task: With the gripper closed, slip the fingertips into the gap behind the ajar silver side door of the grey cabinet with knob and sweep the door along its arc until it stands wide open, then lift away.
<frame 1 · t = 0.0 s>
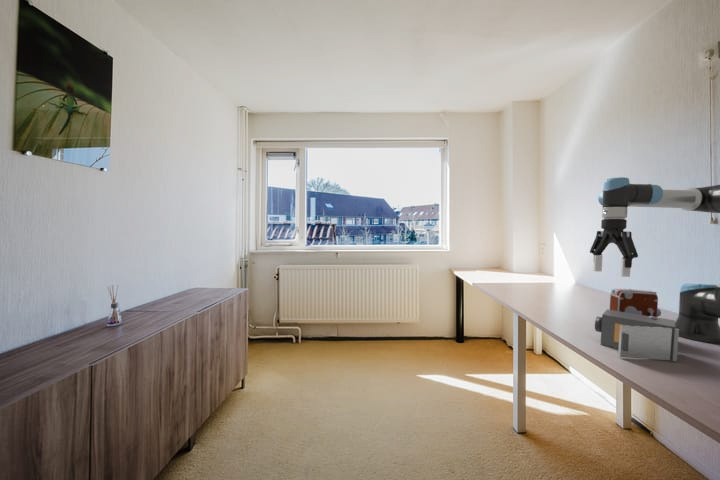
hand: (610, 273, 122), 28 cm above the table, tool pointing down, fingers open, 13 cm apart
side door: (645, 343, 109), point 6 cm above the table, hinge at 40.0°
cine camera: (637, 337, 134), on the table
grey cabinet with knob: (635, 348, 120), on the table
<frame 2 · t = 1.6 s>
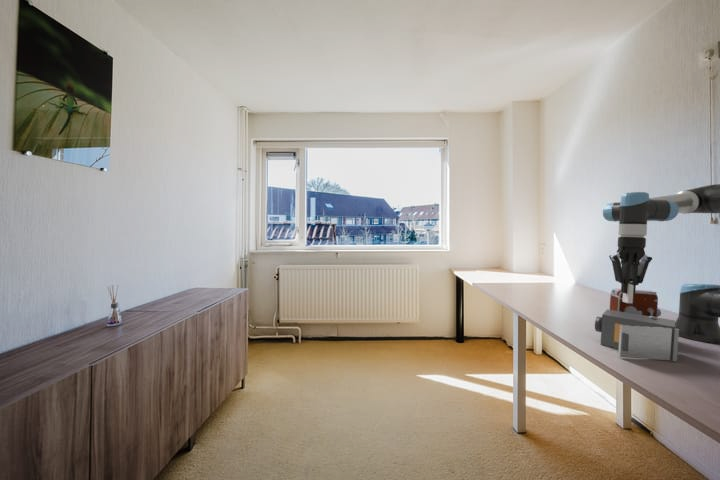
hand: (627, 302, 112), 19 cm above the table, tool pointing down, fingers closed
nothing on the table moved.
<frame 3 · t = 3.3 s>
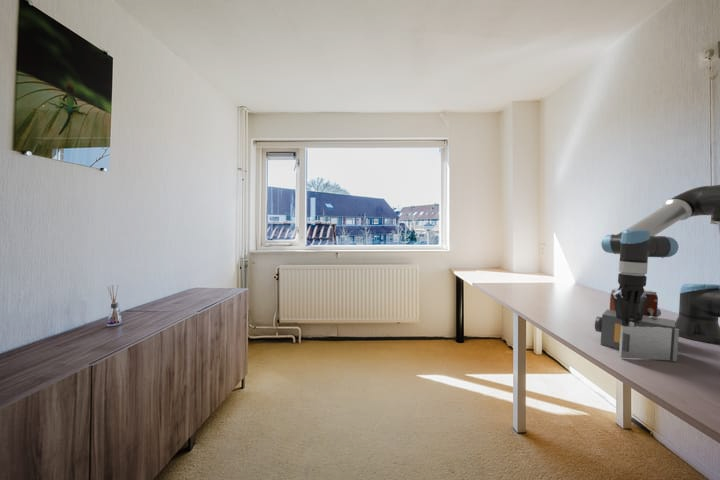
hand: (627, 339, 112), 6 cm above the table, tool pointing down, fingers closed
side door: (646, 343, 109), point 6 cm above the table, hinge at 41.6°, touching gripper
everything else where it was.
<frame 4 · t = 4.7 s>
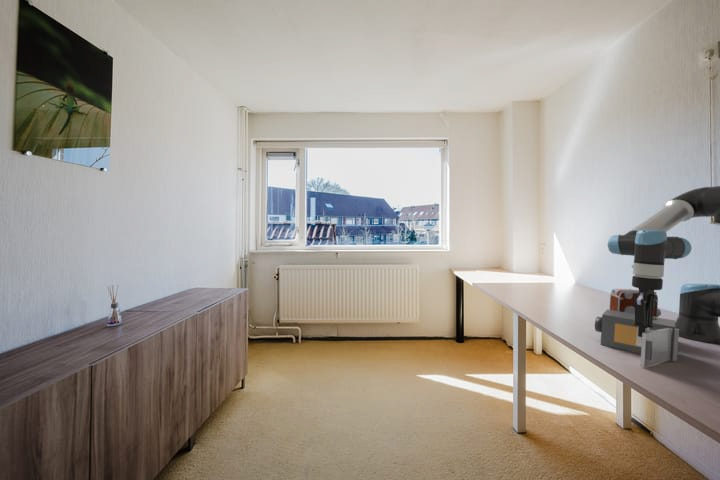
hand: (641, 346, 106), 6 cm above the table, tool pointing down, fingers closed
side door: (658, 347, 105), point 6 cm above the table, hinge at 68.2°, touching gripper
everything else where it was.
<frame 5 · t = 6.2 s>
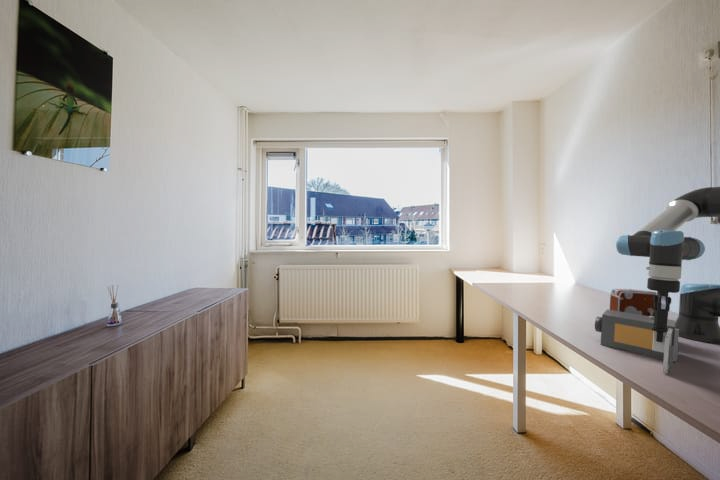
hand: (658, 350, 102), 6 cm above the table, tool pointing down, fingers closed
side door: (670, 350, 103), point 6 cm above the table, hinge at 87.9°, touching gripper
everything else where it was.
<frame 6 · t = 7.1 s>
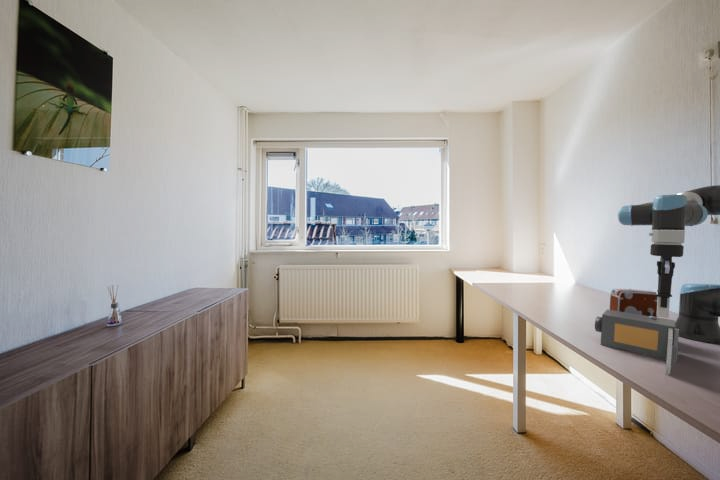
hand: (662, 316, 101), 17 cm above the table, tool pointing down, fingers closed
side door: (671, 350, 103), point 6 cm above the table, hinge at 90.3°
everything else where it was.
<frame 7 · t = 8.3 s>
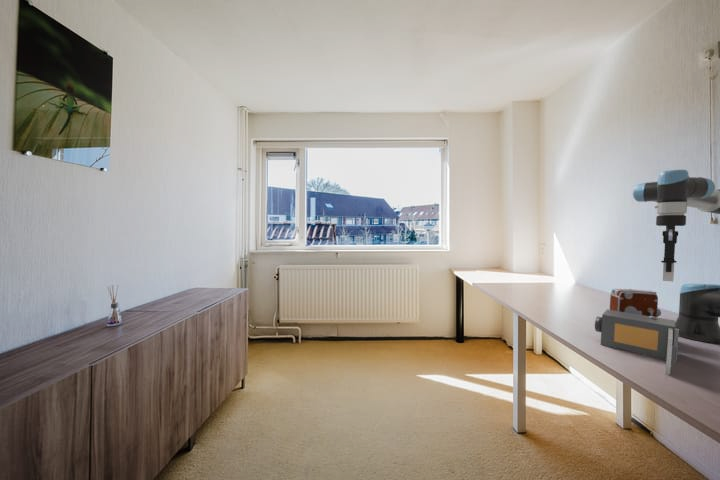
hand: (667, 280, 113), 27 cm above the table, tool pointing down, fingers closed
nothing on the table moved.
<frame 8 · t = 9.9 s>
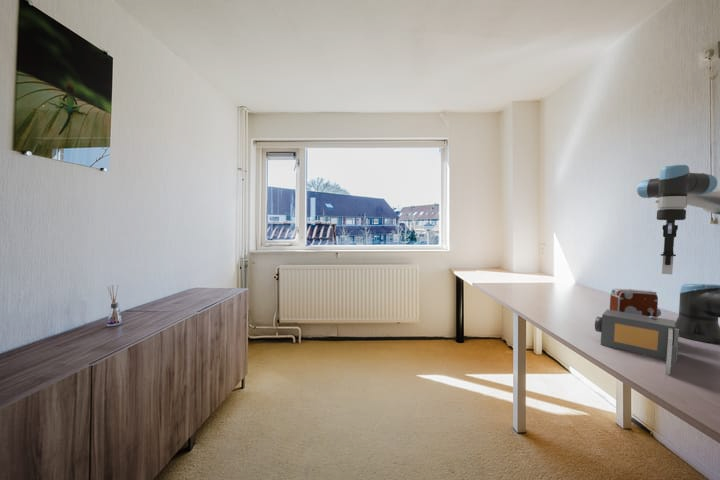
hand: (667, 273, 115), 29 cm above the table, tool pointing down, fingers closed
nothing on the table moved.
at the end: side door at +90° (first picture: +40°); cine camera moved 0.2 cm from its start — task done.
